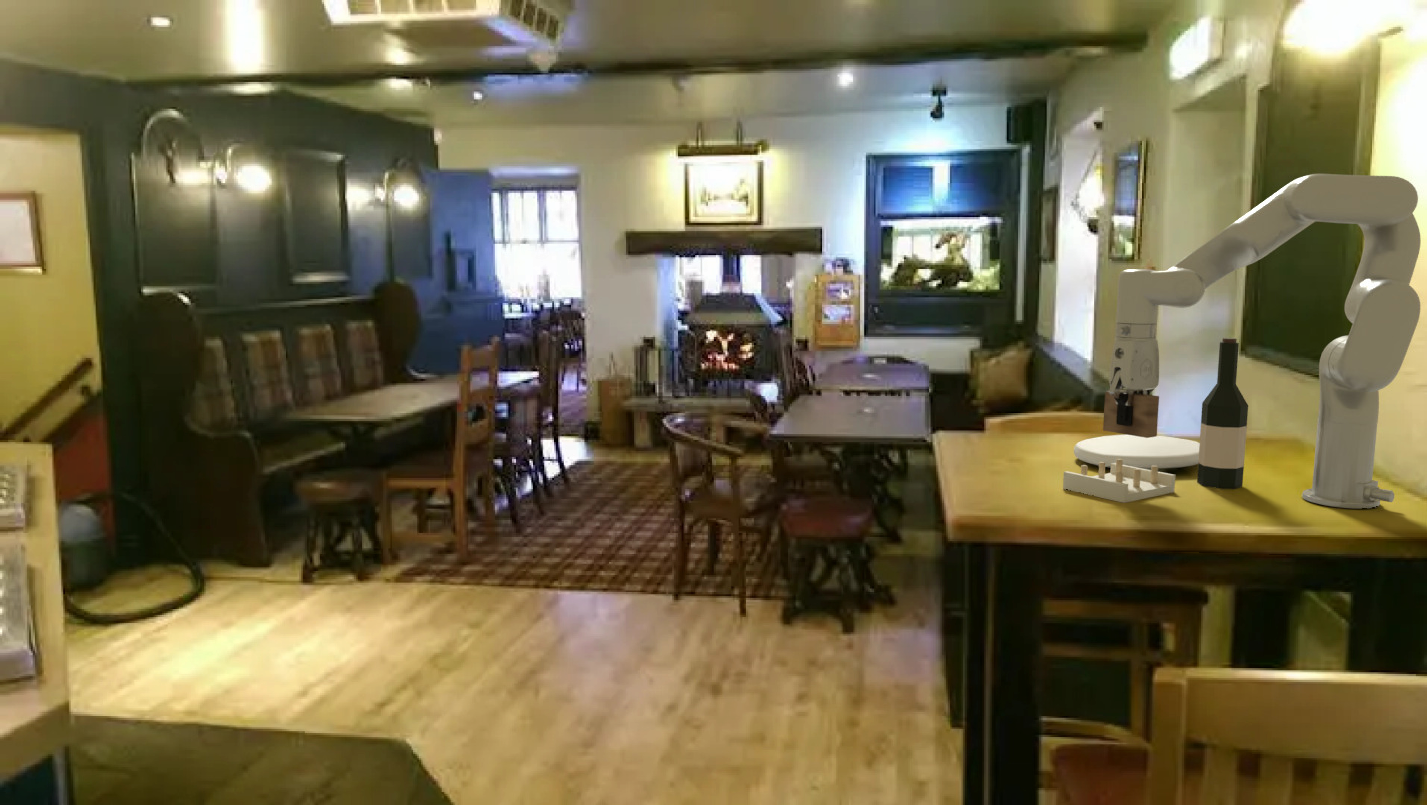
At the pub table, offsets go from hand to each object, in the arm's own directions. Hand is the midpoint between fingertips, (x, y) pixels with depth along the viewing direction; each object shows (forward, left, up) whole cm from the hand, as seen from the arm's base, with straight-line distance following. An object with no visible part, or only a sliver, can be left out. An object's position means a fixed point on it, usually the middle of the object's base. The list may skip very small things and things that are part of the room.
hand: (1130, 423), depth 201 cm
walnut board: (0, 0, -2) cm, 2 cm away
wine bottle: (-8, -19, -14) cm, 25 cm away
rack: (0, +3, -13) cm, 14 cm away
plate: (+14, -24, -14) cm, 31 cm away
